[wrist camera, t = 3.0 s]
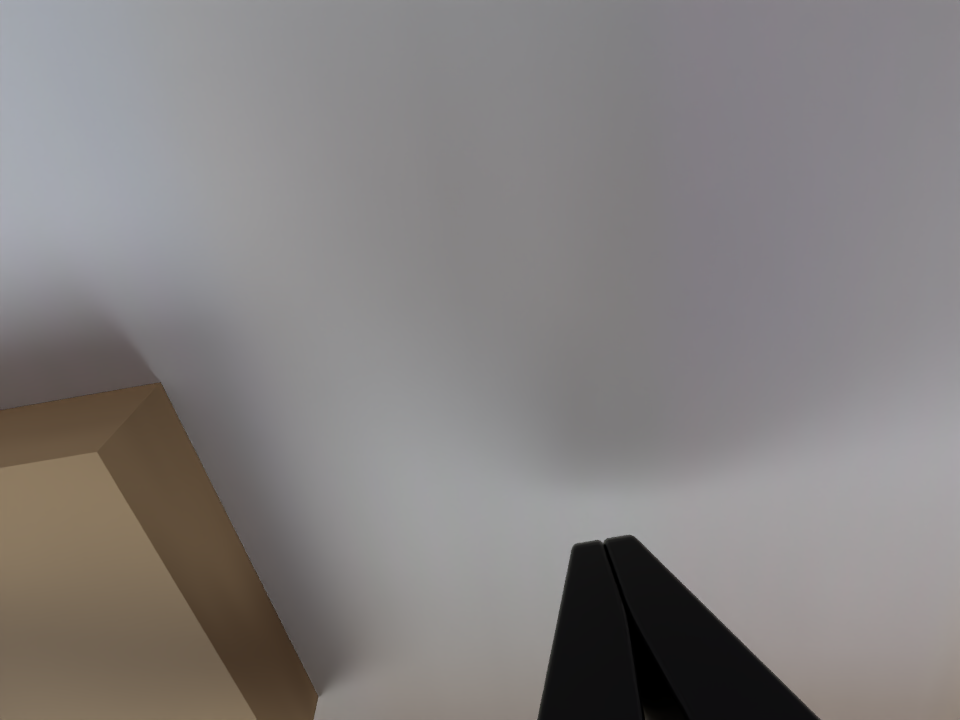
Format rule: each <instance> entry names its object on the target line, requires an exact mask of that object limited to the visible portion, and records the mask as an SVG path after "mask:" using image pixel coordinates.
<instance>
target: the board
mask: <svg viewBox="0 0 960 720" xmlns="http://www.w3.org/2000/svg"><path fill="white" fill-rule="evenodd" d="M317 701H318V695H317V693H316V691H315V689H314V687H313V685H312V683H311V681H310V679H309V677H308V675H307V673H306V671H305V669H304V667H303V665H302V663H301V661H300V659H299V657H298V655H297V653H296V651H295V649H294V647H293V645H292V643H291V641H290V639H289V637H288V635H287V633H286V631H285V629H284V627H283V625H282V623H281V621H280V619H279V617H278V615H277V613H276V611H275V609H274V607H273V605H272V603H271V601H270V599H269V597H268V595H267V593H266V591H265V589H264V587H263V585H262V583H261V581H260V579H259V577H258V575H257V573H256V571H255V569H254V568H253V566H252V564H251V562H250V560H249V558H248V556H247V554H246V552H245V550H244V548H243V546H242V544H241V542H240V540H239V538H238V536H237V534H236V532H235V530H234V528H233V526H232V524H231V522H230V520H229V518H228V516H227V514H226V512H225V510H224V508H223V506H222V504H221V502H220V500H219V498H218V496H217V494H216V492H215V490H214V488H213V486H212V484H211V482H210V480H209V478H208V476H207V474H206V472H205V470H204V468H203V466H202V464H201V462H200V460H199V458H198V456H197V454H196V452H195V450H194V448H193V446H192V444H191V442H190V440H189V438H188V436H187V434H186V432H185V430H184V428H183V426H182V424H181V422H180V420H179V418H178V416H177V414H176V412H175V410H174V408H173V406H172V404H171V402H170V400H169V398H168V396H167V394H166V392H165V390H164V388H163V386H162V384H161V382H160V383H154V384H148V385H142V386H137V387H131V388H125V389H119V390H114V391H108V392H102V393H96V394H91V395H85V396H79V397H73V398H68V399H62V400H56V401H50V402H45V403H39V404H33V405H27V406H22V407H16V408H10V409H4V410H0V720H313V719H314V715H315V710H316V706H317Z"/></svg>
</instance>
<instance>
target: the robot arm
mask: <svg viewBox="0 0 960 720" xmlns="http://www.w3.org/2000/svg"><path fill="white" fill-rule="evenodd" d="M537 720H820V719H819V718H818V717H817V716H816V715H815V714H814V713H813V712H812V711H811V710H810V709H809V708H808V707H807V706H806V705H805V704H804V703H803V702H802V701H801V700H800V699H799V698H798V697H797V696H796V695H795V694H794V693H793V692H792V691H791V690H790V689H789V688H788V687H787V686H786V685H785V684H784V683H783V682H782V681H781V680H780V679H779V678H778V677H777V676H776V675H775V674H774V673H773V672H772V671H771V670H770V669H769V668H768V667H767V666H766V665H765V664H764V663H763V662H761V661H760V660H759V659H758V658H757V657H756V656H755V655H754V654H753V653H752V652H751V651H750V650H749V649H748V648H747V647H746V646H745V645H744V644H743V643H742V642H741V641H740V640H739V639H738V638H737V637H736V636H735V635H734V634H733V633H732V632H731V631H730V630H729V629H728V628H727V627H726V626H725V625H724V624H723V623H722V622H721V621H720V620H719V619H718V618H717V617H716V616H715V615H714V614H713V613H712V612H711V611H710V610H709V609H708V608H707V607H706V606H705V605H704V604H703V603H702V602H701V601H700V600H699V599H698V598H697V597H696V596H694V595H693V594H692V593H691V592H690V591H689V590H688V589H687V588H686V587H685V586H684V585H683V584H682V583H681V582H680V581H679V580H678V579H677V578H676V577H675V576H674V575H673V574H672V573H671V572H670V571H669V570H668V569H667V568H666V567H665V566H664V565H663V564H662V563H661V562H660V561H659V560H658V559H657V558H656V557H655V556H654V555H653V554H652V553H651V552H650V551H649V550H648V549H647V548H646V547H645V546H644V545H643V544H642V543H641V542H640V541H639V540H638V539H636V538H635V537H634V536H632V535H624V536H618V537H612V538H607V539H606V540H605V541H604V543H602V542H601V541H599V540H595V541H589V542H583V543H577V544H575V545H574V546H573V547H572V550H571V555H570V560H569V565H568V570H567V575H566V580H565V585H564V590H563V595H562V600H561V605H560V610H559V615H558V620H557V625H556V630H555V635H554V640H553V645H552V650H551V655H550V659H549V664H548V669H547V674H546V679H545V684H544V689H543V694H542V699H541V704H540V709H539V714H538V719H537Z"/></svg>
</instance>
